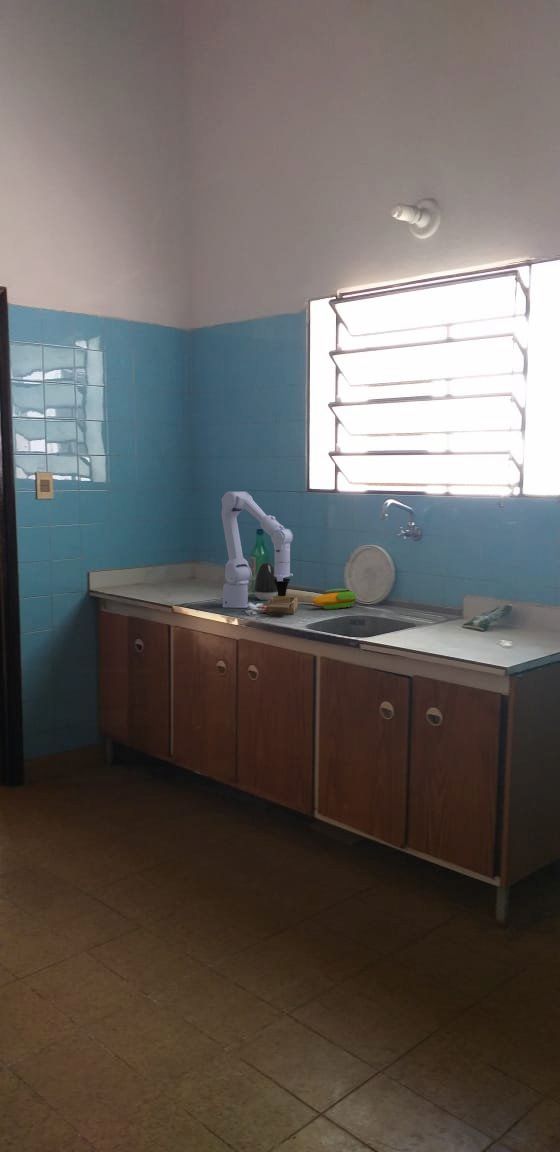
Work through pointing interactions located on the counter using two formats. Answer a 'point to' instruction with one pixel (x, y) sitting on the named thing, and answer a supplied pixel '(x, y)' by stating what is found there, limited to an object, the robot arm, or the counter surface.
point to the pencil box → (289, 611)
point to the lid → (280, 602)
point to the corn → (335, 599)
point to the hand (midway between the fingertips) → (281, 598)
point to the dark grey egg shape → (265, 582)
